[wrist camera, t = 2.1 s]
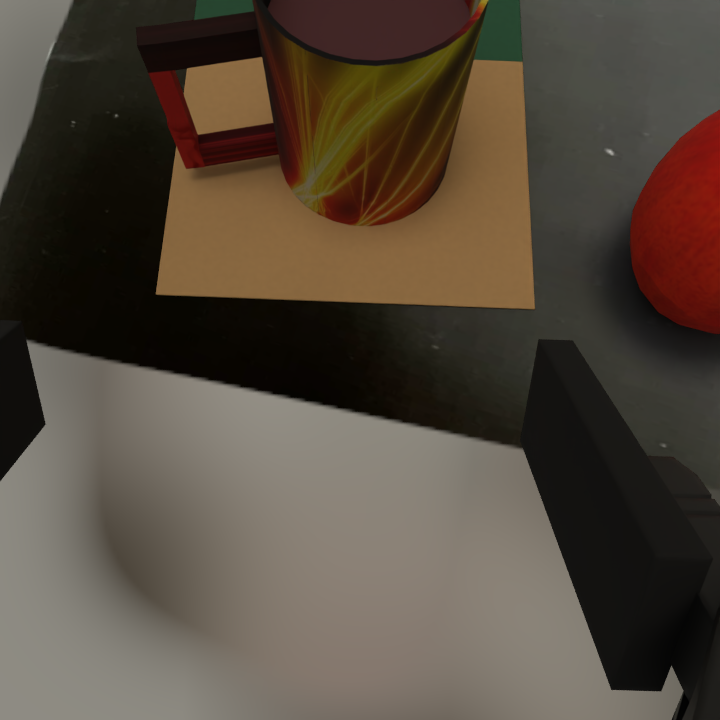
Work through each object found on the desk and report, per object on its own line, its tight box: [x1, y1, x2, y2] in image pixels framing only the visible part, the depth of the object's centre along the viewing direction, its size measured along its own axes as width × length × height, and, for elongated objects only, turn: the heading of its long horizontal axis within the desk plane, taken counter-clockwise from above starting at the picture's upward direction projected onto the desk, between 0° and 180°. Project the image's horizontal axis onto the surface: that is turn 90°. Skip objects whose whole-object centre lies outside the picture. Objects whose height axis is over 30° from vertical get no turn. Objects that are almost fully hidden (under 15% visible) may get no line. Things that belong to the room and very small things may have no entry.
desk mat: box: [156, 0, 535, 310], centre depth 39 cm, size 20×32×1 cm, turn 178°
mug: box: [136, 0, 489, 226], centre depth 31 cm, size 10×14×12 cm
